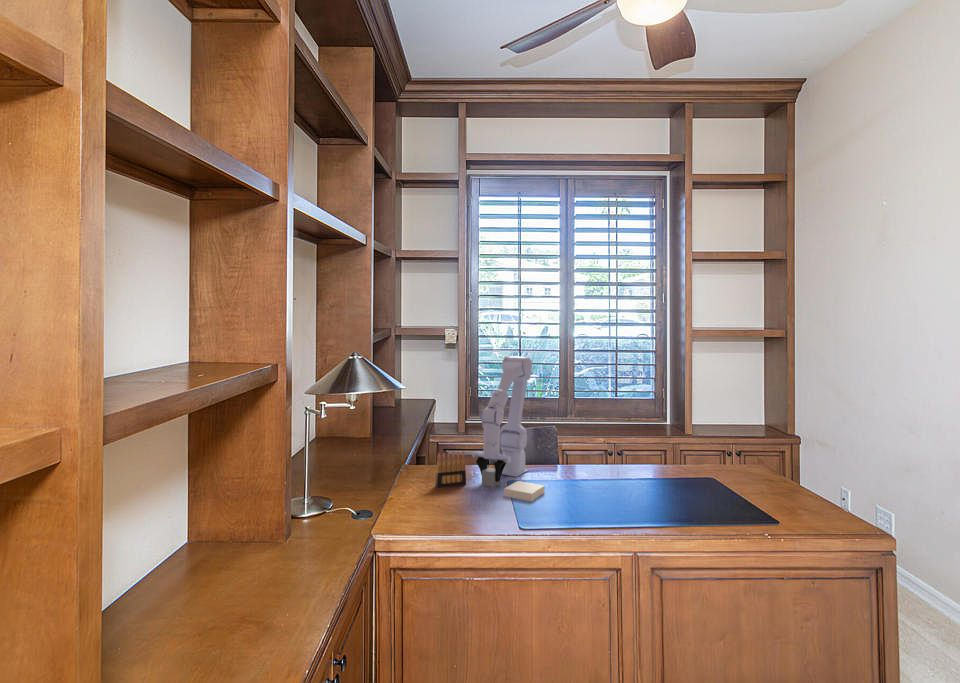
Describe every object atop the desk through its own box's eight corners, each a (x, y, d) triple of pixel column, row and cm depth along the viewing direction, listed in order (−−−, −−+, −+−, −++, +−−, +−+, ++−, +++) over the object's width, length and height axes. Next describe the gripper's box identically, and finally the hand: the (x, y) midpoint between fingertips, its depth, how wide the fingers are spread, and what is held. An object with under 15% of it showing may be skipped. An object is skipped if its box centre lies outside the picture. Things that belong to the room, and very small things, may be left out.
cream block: (517, 489, 193) (517, 480, 193) (544, 494, 188) (544, 485, 188) (504, 497, 184) (504, 488, 184) (531, 502, 179) (531, 493, 179)
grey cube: (488, 481, 201) (488, 467, 200) (500, 483, 198) (500, 469, 198) (481, 484, 196) (481, 470, 196) (493, 486, 194) (493, 472, 194)
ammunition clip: (436, 487, 192) (437, 453, 192) (435, 486, 194) (435, 452, 193) (466, 484, 196) (466, 450, 196) (464, 483, 198) (464, 449, 197)
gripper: (468, 441, 197) (467, 479, 197) (504, 446, 189) (503, 486, 190) (478, 437, 203) (477, 474, 203) (514, 442, 195) (513, 481, 196)
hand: (491, 480), depth 197 cm, fingers closed on grey cube, 5 cm apart
